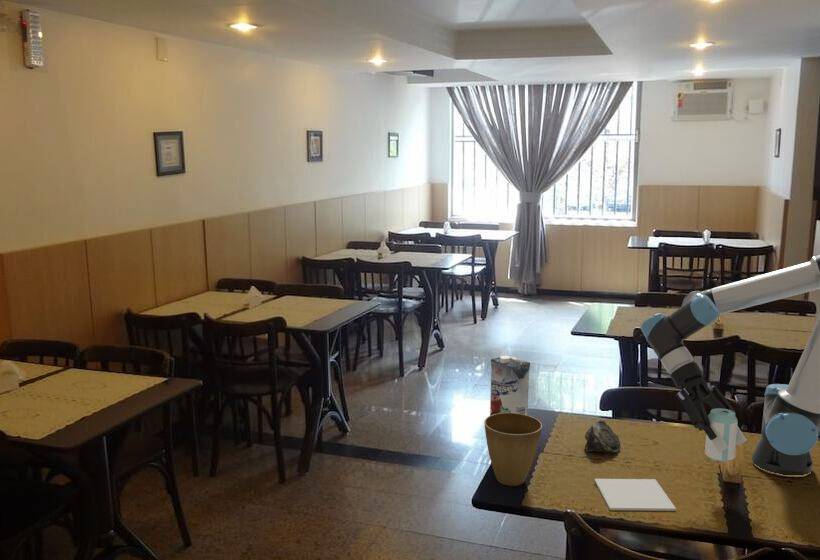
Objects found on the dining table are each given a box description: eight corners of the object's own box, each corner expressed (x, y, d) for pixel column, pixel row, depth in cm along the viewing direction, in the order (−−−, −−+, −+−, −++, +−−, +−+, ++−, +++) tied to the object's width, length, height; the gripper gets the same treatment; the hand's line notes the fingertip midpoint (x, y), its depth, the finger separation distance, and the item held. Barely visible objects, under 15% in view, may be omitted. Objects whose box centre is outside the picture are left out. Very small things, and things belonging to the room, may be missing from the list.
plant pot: (472, 482, 199) (473, 424, 196) (501, 463, 210) (502, 408, 207) (522, 498, 190) (524, 438, 187) (549, 477, 202) (552, 420, 199)
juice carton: (508, 435, 230) (511, 349, 225) (530, 447, 222) (534, 358, 217) (484, 440, 226) (487, 353, 221) (506, 453, 217) (509, 362, 212)
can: (701, 451, 196) (704, 406, 194) (729, 451, 196) (733, 407, 193) (709, 462, 189) (712, 416, 187) (738, 463, 189) (742, 417, 186)
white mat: (655, 481, 200) (655, 479, 200) (675, 510, 184) (675, 508, 184) (594, 480, 200) (594, 478, 200) (609, 510, 184) (610, 507, 184)
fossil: (623, 457, 214) (607, 426, 213) (592, 468, 217) (577, 438, 216) (621, 441, 224) (606, 411, 223) (592, 452, 227) (577, 423, 226)
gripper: (696, 368, 207) (746, 444, 197) (648, 381, 196) (698, 462, 186) (715, 354, 202) (767, 431, 192) (666, 367, 191) (719, 449, 181)
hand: (733, 446), depth 189 cm, fingers closed on can, 7 cm apart
